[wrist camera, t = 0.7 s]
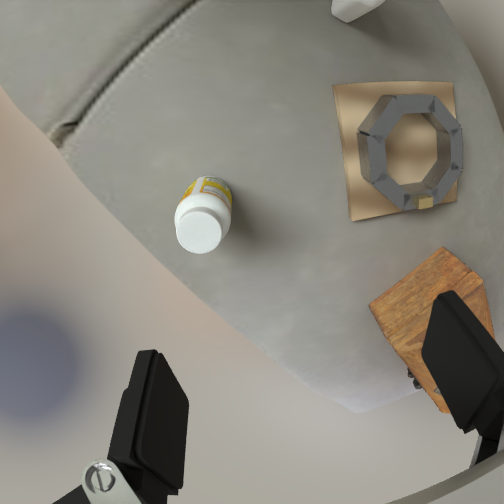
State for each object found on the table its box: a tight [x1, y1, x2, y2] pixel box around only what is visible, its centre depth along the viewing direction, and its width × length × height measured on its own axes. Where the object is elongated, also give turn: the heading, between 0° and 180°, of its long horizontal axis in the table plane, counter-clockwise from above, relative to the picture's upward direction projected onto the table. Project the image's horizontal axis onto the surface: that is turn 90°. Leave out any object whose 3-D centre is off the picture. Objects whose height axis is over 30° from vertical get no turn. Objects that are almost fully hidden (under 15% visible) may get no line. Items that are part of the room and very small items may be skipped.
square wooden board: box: [332, 81, 457, 221], centre depth 32 cm, size 16×16×1 cm
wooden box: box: [369, 247, 495, 413], centre depth 41 cm, size 30×16×14 cm, turn 41°
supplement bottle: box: [175, 176, 232, 254], centre depth 30 cm, size 5×5×10 cm
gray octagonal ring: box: [356, 93, 463, 211], centre depth 30 cm, size 13×13×4 cm
